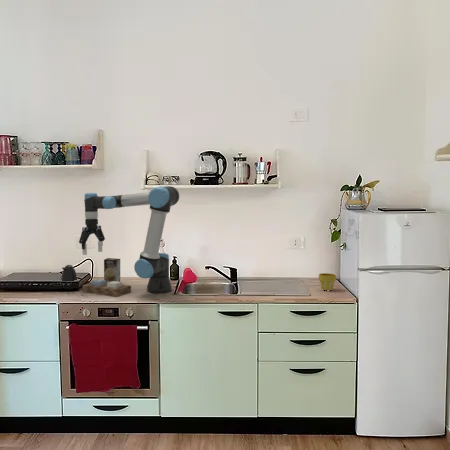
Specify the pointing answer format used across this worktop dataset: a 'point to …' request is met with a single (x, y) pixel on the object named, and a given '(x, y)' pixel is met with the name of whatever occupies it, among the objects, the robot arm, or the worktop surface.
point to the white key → (114, 284)
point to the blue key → (98, 282)
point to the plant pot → (327, 281)
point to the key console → (106, 290)
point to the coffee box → (111, 270)
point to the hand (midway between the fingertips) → (92, 253)
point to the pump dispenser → (68, 273)
